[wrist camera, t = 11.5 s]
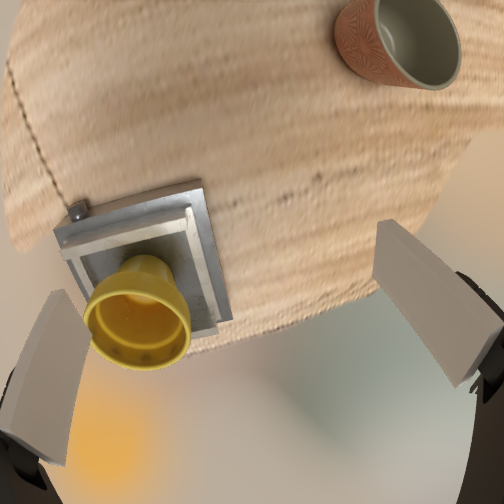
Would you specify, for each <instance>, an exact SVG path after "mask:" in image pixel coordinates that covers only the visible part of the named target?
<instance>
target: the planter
mask: <svg viewBox="0 0 504 504" xmlns="http://www.w3.org/2000/svg"><path fill="white" fill-rule="evenodd" d="M334 36H335V42H336V45H337V48H338V51H339V53H340V55H341V56H342V58H343V59H344V61H345V62H346V63H347V64H348V66H349V67H350V68H351V69H352V70H354V71H355V72H356V73H357V74H359V75H360V76H362V77H364V78H366V79H368V80H370V81H373V82H376V83H380V84H385V85H391V86H399V87H408V88H417V89H426V90H434V91H435V90H441V89H444V88H446V87H448V86H449V85H451V84H452V83H453V81H454V80H455V79H456V77H457V75H458V73H459V70H460V66H461V56H462V54H461V44H460V39H459V35H458V32H457V29H456V27H455V25H454V23H453V21H452V19H451V17H450V15H449V14H448V12H447V11H446V9H445V8H444V7H443V5H442V4H441V3H440V2H439V1H438V0H354V1H352V2H351V3H350V4H348V5H347V6H346V7H345V8H344V9H343V10H342V11H341V12H340V14H339V15H338V17H337V20H336V23H335V28H334Z"/></svg>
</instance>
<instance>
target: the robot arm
mask: <svg viewBox="0 0 504 504" xmlns="http://www.w3.org/2000/svg"><path fill="white" fill-rule="evenodd" d="M372 277H373V278H374V279H375V280H376V281H377V283H378V284H379V285H380V286H381V288H382V289H383V290H384V291H385V293H386V294H387V295H388V296H389V298H390V299H391V300H392V301H393V303H394V304H395V305H396V307H397V308H398V309H399V310H400V312H401V313H402V314H403V315H404V317H405V318H406V320H407V321H408V322H409V323H410V325H411V326H412V327H413V329H414V330H415V331H416V333H417V334H418V336H419V337H420V338H421V340H422V341H423V343H424V344H425V345H426V347H427V348H428V349H429V351H430V352H431V354H432V355H433V357H434V358H435V359H436V361H437V362H438V364H439V365H440V366H441V368H442V370H443V371H444V373H445V374H446V376H447V377H448V378H449V380H450V382H451V383H452V384H453V386H454V388H455V389H456V388H458V387H459V386H461V385H462V384H464V383H465V382H467V381H468V380H470V378H471V377H472V376H473V375H474V373H475V372H476V370H477V369H478V370H479V371H480V373H481V374H480V376H479V377H478V378H477V380H476V381H475V383H474V384H473V385H472V386H471V388H470V392H469V393H472V392H473V391H474V390H475V388H476V387H477V386H478V389H477V391H476V392H475V394H477V404H476V414H475V422H474V429H473V436H472V442H471V448H470V453H469V458H468V462H467V467H466V471H465V475H464V479H463V483H462V487H461V490H460V493H459V497H458V500H457V503H456V504H504V312H503V311H502V310H501V309H500V307H499V306H498V305H497V304H496V303H495V302H494V301H493V300H492V299H491V298H490V297H489V296H488V295H486V294H485V292H484V291H483V290H482V289H481V288H479V287H478V285H477V284H476V283H475V282H474V281H472V279H470V278H469V277H468V276H466V275H464V274H462V273H460V272H458V271H457V272H454V271H453V270H452V269H451V268H450V267H449V266H448V265H446V264H445V263H444V262H443V261H442V260H441V259H440V258H439V257H437V256H436V255H435V254H434V253H433V252H432V251H431V250H430V249H428V248H427V247H426V246H425V245H424V244H423V243H421V242H420V241H419V240H418V239H417V238H415V237H414V236H413V235H412V234H411V233H409V232H408V231H407V230H406V229H404V228H403V227H402V226H401V225H399V224H398V223H397V222H396V221H394V220H393V219H389V220H384V221H380V222H378V223H377V235H376V246H375V256H374V265H373V273H372ZM91 338H92V333H91V332H90V330H89V329H88V327H87V326H86V324H85V322H84V321H83V319H82V318H81V316H80V315H79V313H78V311H77V310H76V308H75V306H74V305H73V303H72V301H71V299H70V298H69V296H68V294H67V292H66V291H65V289H60V290H55V291H51V293H50V295H49V297H48V299H47V300H46V302H45V304H44V306H43V308H42V310H41V312H40V314H39V316H38V318H37V320H36V322H35V324H34V326H33V328H32V330H31V332H30V334H29V336H28V339H27V341H26V343H25V346H24V348H23V350H22V352H21V355H20V357H19V360H18V362H17V365H16V366H15V368H14V369H13V370H12V372H11V373H10V376H9V378H8V381H7V383H6V387H5V389H4V392H3V396H2V398H1V401H0V504H63V503H62V501H61V499H60V498H59V496H58V494H57V492H56V490H55V489H54V487H53V485H52V483H51V481H50V479H49V477H48V475H47V473H46V471H45V469H44V467H43V466H42V465H41V464H40V463H38V461H39V458H41V459H42V460H44V461H46V462H47V463H49V464H52V465H57V466H62V467H65V462H66V454H67V446H68V440H69V433H70V427H71V422H72V416H73V410H74V406H75V401H76V396H77V392H78V388H79V383H80V379H81V375H82V371H83V367H84V363H85V360H86V356H87V352H88V349H89V345H90V342H91Z"/></svg>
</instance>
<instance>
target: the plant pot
mask: <svg viewBox="0 0 504 504" xmlns="http://www.w3.org/2000/svg"><path fill="white" fill-rule="evenodd" d="M83 321H84V322H85V324H86V326H87V327H88V329H89V330H90V332H91V333H92V338H91V342H90V345H91V346H92V347H93V348H94V350H95V351H97V353H99V354H100V355H101V356H102V357H104V358H105V359H107V360H108V361H110V362H112V363H114V364H116V365H118V366H121V367H124V368H127V369H132V370H140V371H148V370H149V371H150V370H157V369H162V368H165V367H167V366H170V365H172V364H174V363H175V362H177V361H178V360H179V359H181V358H182V357H183V355H184V354H185V353H186V352H187V350H188V348H189V345H190V342H191V321H190V313H189V308H188V305H187V303H186V301H185V299H184V297H183V296H182V294H181V293H180V292H179V291H178V290H177V287H176V284H175V281H174V278H173V274H172V272H171V270H170V268H169V267H168V265H167V264H166V263H165V262H163V261H162V260H161V259H159V258H157V257H155V256H152V255H136V256H133V257H131V258H129V259H128V260H126V261H125V262H124V263H123V264H122V265H121V267H120V268H119V269H118V270H117V271H116V272H115V273H114V274H113V275H111V276H109V277H107V278H105V279H104V280H103V281H101V282H100V283H99V284H98V285H97V287H96V288H95V290H94V291H93V293H92V295H91V297H90V299H89V302H88V304H87V307H86V309H85V312H84V315H83Z"/></svg>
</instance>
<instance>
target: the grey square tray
mask: <svg viewBox="0 0 504 504" xmlns="http://www.w3.org/2000/svg"><path fill="white" fill-rule="evenodd" d="M67 211H68V214H69V215H68V216H65V217H64V218H63V219H62V221H61V222H60V223H59V224H58V225H57V226H56V227H55V228H54V229H53V231H54V234H55V236H56V238H57V240H58V243H59V245H60V248H61V250H60V251H59V252H60V254H61V256H62V258H63V260H64V261H67V263H68V265H69V267H70V269H71V272H72V274H73V276H74V278H75V280H76V282H77V284H78V286H79V288H80V290H81V291H82V293H83V295H84V297H85V299H86V301H87V303H88V302H89V299H90V297H91V295H92V293H93V291H94V290H95V288H96V287H97V285H98V284H99V283H100V282H101V281H103V280H104V279H105V278H107V277H109V276H111V275H113V274H114V273H115V272H116V271H117V270H118V269H119V268H120V267H121V265H122V264H123V263H124V262H125V261H126V260H128V259H129V258H131V257H133V256H136V255H152V256H155V257H157V258H159V259H161V260H162V261H163V262H165V263H166V264H167V265H168V267H169V268H170V270H171V272H172V274H173V278H174V281H175V284H176V287H177V290H178V291H179V292H180V293H181V294H182V296H183V297H184V299H185V301H186V303H187V305H188V308H189V313H190V321H191V340H192V339H197V338H202V337H207V336H212V335H216V334H219V331H218V325H217V323H220V322H224V321H229V320H233V316H232V312H231V307H230V302H229V298H228V294H227V290H226V286H225V282H224V277H223V273H222V269H221V265H220V261H219V257H218V252H217V248H216V244H215V240H214V235H213V231H212V226H211V222H210V217H209V213H208V208H207V204H206V199H205V195H204V190H203V185H202V181H201V179H197V180H193V181H188V182H184V183H180V184H176V185H171V186H167V187H163V188H159V189H156V190H152V191H148V192H144V193H140V194H137V195H133V196H130V197H126V198H123V199H119V200H116V201H112V202H109V203H106V204H102V205H99V206H96V207H93V208H89V209H87V206H86V203H85V201H84V200H82V201H79V202H76V203H74V204H72V205H70V206H69V207H68V208H67Z"/></svg>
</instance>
